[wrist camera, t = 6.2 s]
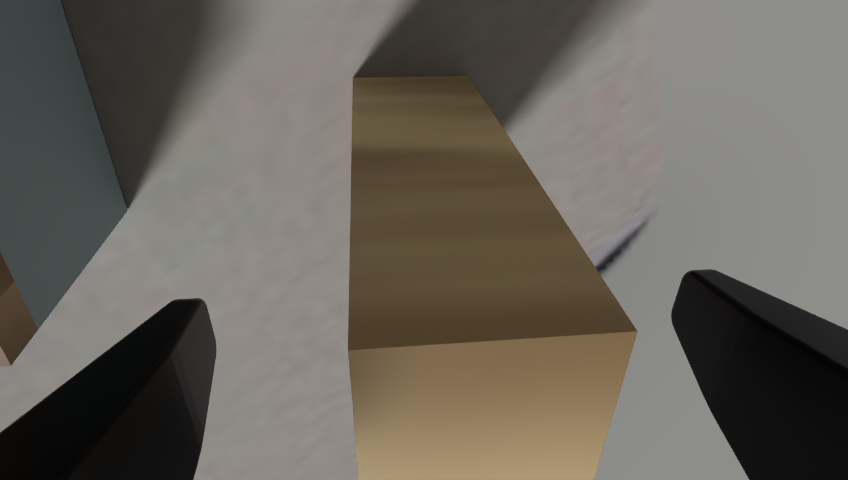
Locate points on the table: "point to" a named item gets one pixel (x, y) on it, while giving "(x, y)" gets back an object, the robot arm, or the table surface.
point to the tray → (49, 157)
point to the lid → (12, 318)
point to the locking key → (469, 300)
